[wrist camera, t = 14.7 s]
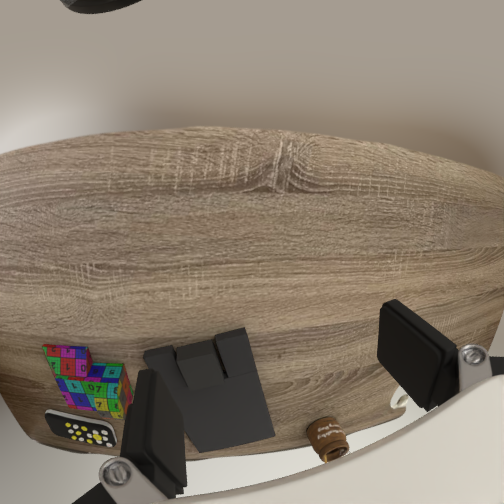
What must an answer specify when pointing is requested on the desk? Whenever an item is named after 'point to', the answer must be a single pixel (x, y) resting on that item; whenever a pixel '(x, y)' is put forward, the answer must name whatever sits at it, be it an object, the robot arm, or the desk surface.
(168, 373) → the big pad
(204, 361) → the small black box
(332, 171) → the desk surface
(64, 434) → the remote control
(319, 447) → the utensil holder
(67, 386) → the block
